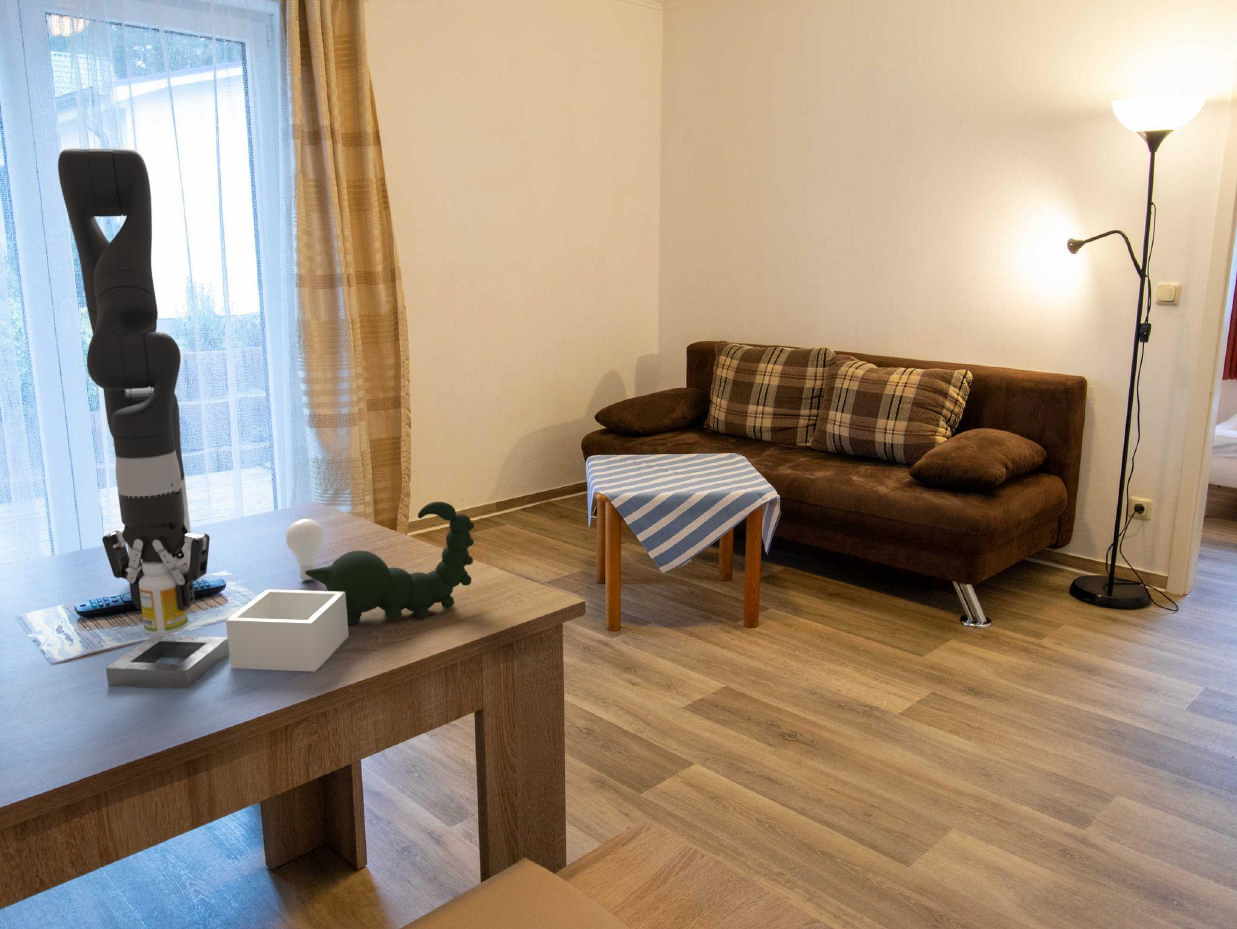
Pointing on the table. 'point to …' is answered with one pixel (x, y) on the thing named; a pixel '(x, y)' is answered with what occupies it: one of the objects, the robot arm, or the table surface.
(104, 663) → the table surface
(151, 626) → the supplement bottle
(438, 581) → the toy figurine
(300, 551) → the lightbulb
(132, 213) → the robot arm
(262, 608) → the bin
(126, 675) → the socket collar
